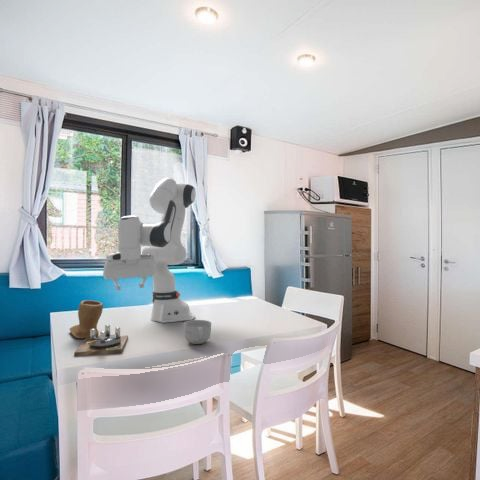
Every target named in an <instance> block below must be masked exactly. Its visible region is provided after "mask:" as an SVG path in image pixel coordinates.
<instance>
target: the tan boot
mask: <svg viewBox="0 0 480 480" xmlns="http://www.w3.org/2000/svg"><path fill="white" fill-rule="evenodd" d="M103 309H104V304H103V303H102V302H100V301H96V300H89V299H87V300H86V299H84V300H82V301H80V303H79V305H78V312H77V318H78V321H79V324H77V325H73V326H71V327H70V328H69V332H70V333H71V334H72V336H73V337H74V338H76V339H86V338H90V329H95V337H97V336H100V331H99V330H98V323H99V320H100V319H101V316H102V314H103Z"/></svg>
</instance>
